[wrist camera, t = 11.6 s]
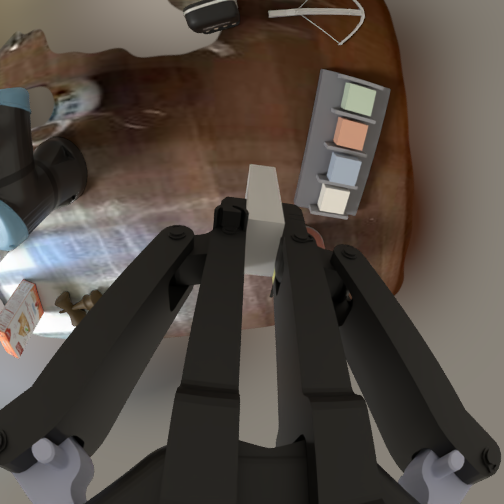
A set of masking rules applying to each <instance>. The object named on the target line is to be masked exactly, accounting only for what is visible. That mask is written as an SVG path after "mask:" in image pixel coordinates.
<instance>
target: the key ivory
mask: <svg viewBox="0 0 504 504" xmlns="http://www.w3.org/2000/svg"><path fill="white" fill-rule="evenodd" d="M349 194H350V191H349V190H348V188H345V187H340V186H335V185H329V184H324V183H323V184H322V188H321V192H320V196H319V200H318V203H317V205H318V207H319V210H320V211H325V212H331V213H338V214H344V210H345V207H346V204H347V201H348V198H349Z"/></svg>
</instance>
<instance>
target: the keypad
mask: <svg viewBox="0 0 504 504" xmlns="http://www.w3.org/2000/svg"><path fill="white" fill-rule="evenodd" d="M346 83H351V84H355V85H358V86H362V87H365V88H368V89H371V90H374V91H376V95H375V100H374V104H373V109H372V113H371V116H367V115H364V114H360V113H357V112H353V111H349V110H345V109H343V108H341V103H342V98H343V94H344V89H345V84H346ZM390 90H391V89H388V88H386V87H383V86H380V85H377V84H374V83H371V82H368V81H365V80H361V79H358V78H355V77H351V76H348V75H344V74H340V73H337V72H333V71H329V70H325V69H321V71H320V76H319V82H318V87H317V92H316V98H315V103H314V108H313V113H312V118H311V123H310V128H309V133H308V138H307V143H306V147H305V152H304V157H303V162H302V166H301V171H300V176H299V180H298V185H297V189H296V194H295V198H294V204H295V205H297V206H298V207H305V208H309V210H310V213H311V214H315V215H322V216H328V217H334V218H341V219H348V215H354V216H355V215H356V212H357V209H358V206H359V203H360V200H361V197H362V194H363V191H364V188H365V184H366V181H367V178H368V175H369V171H370V168H371V165H372V161H373V158H374V154H375V151H376V147H377V143H378V140H379V136H380V132H381V128H382V124H383V120H384V116H385V112H386V108H387V104H388V99H389V95H390ZM338 117H343V118H347V119H351V120H355V121H359V122H362V123H364V124H366V125H368V129H367V133H366V137H365V141H364V145H363V149H362V151H361V150H357V149H353V148H348V147H344V146H340V145H337V144H336V143H335V142H334V141H333V139H334V135H335V130H336V126H337V122H338ZM332 152H336V153H340V154H345V155H349V156H354V157H357V158H358V159H359V160H360V161H361V162H362V163H361V166H360V170H359V173H358V177H357V180H356V184H355V186H350V185H345V184H340V183H335V182H330V181H329V179H328V177H327V173H328V169H329V165H330V161H331V156H332ZM323 183H324V184H329V185H335V186H340V187H345V188H348V190H349V191H350V194H349V198H348V201H347V204H346V207H345V210H344V214H338V213H331V212H325V211H320V210H319V207H318V205H317V203H318V200H319V196H320V192H321V188H322V184H323ZM347 214H348V215H347Z"/></svg>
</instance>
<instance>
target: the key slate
mask: <svg viewBox="0 0 504 504" xmlns="http://www.w3.org/2000/svg"><path fill="white" fill-rule="evenodd" d="M361 163H362V162H361V161H360V160H359V159H358V158H357V157H354V156H349V155H345V154H340V153H336V152H332V156H331V161H330V165H329V169H328V173H327V177H328V179H329V181H330V182H335V183H340V184H345V185H350V186H355V184H356V180H357V177H358V173H359V170H360V166H361Z"/></svg>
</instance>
